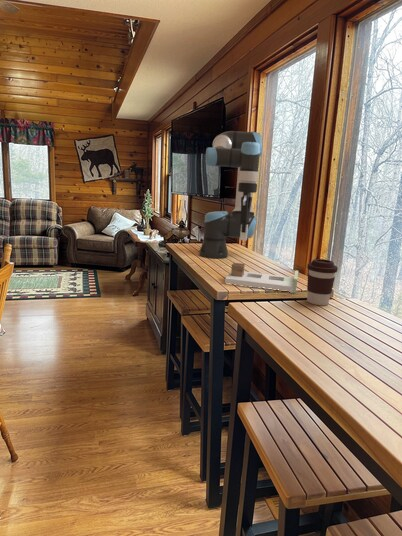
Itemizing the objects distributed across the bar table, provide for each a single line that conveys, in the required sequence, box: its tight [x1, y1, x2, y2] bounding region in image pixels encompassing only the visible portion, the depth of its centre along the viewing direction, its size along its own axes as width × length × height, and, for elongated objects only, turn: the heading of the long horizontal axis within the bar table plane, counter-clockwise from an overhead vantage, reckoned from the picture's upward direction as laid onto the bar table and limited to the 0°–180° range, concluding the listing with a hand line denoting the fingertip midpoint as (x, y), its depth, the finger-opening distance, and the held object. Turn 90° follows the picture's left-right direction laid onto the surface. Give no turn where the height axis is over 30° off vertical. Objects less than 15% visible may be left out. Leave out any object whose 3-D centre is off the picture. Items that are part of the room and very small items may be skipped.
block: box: [230, 262, 246, 277], centre depth 156 cm, size 4×4×4 cm
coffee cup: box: [306, 258, 338, 306], centre depth 134 cm, size 10×10×15 cm
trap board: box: [224, 270, 299, 294], centre depth 154 cm, size 15×27×5 cm, turn 75°
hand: (243, 239), depth 161 cm, fingers closed
